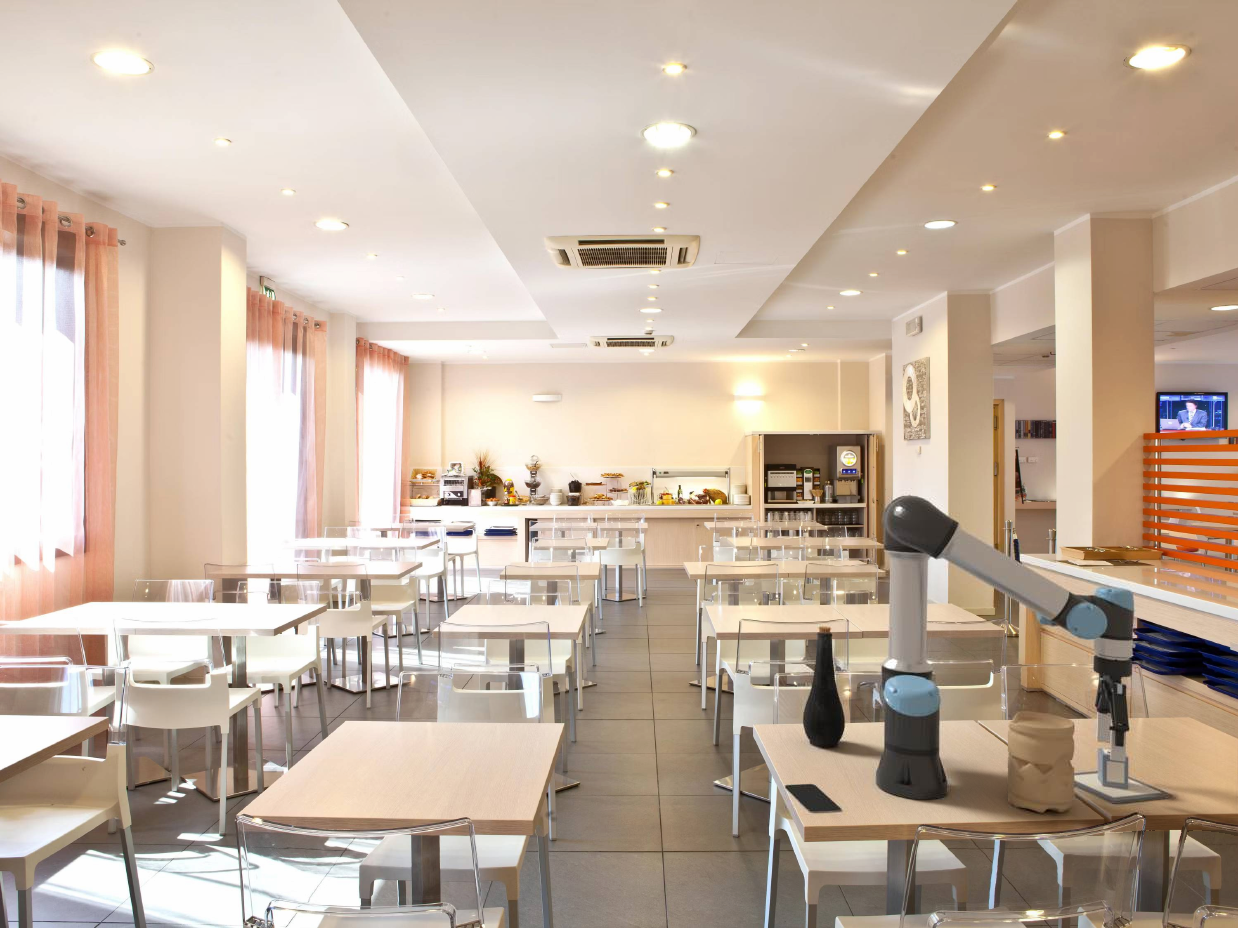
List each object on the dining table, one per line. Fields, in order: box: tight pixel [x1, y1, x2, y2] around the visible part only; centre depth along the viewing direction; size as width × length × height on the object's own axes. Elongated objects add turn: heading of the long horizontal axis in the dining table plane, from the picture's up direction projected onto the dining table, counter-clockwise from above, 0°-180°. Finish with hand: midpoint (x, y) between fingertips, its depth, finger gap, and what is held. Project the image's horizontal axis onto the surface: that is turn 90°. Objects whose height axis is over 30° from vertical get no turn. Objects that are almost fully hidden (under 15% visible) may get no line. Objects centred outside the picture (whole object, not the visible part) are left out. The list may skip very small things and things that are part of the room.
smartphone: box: [784, 783, 842, 814], centre depth 176 cm, size 7×1×15 cm
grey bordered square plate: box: [1074, 770, 1174, 805], centre depth 185 cm, size 16×16×1 cm
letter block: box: [1097, 747, 1129, 789], centre depth 185 cm, size 5×5×7 cm
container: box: [1007, 710, 1076, 814], centre depth 174 cm, size 13×13×18 cm
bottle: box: [802, 626, 846, 749], centre depth 213 cm, size 11×11×30 cm
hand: (1110, 750), depth 185 cm, fingers open, 13 cm apart
